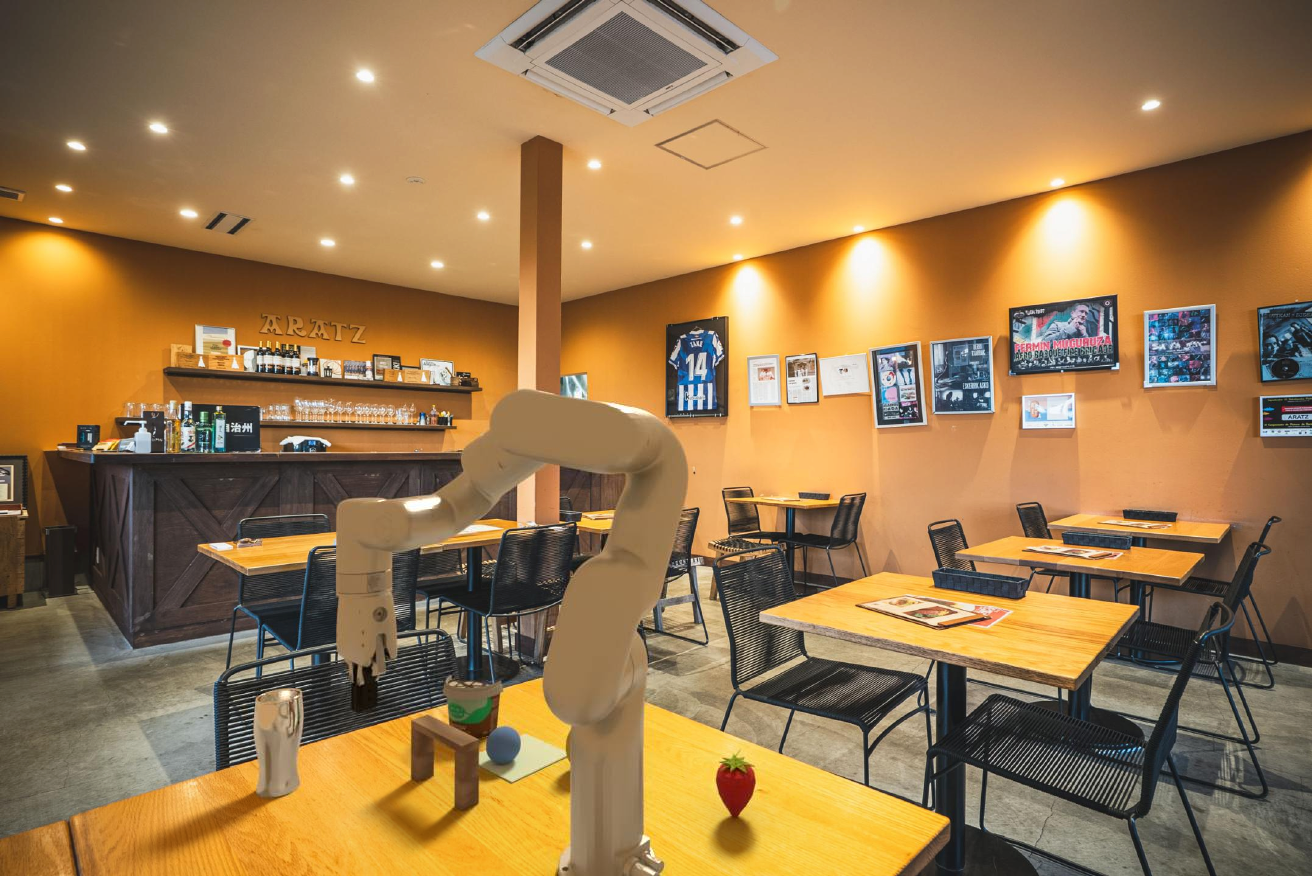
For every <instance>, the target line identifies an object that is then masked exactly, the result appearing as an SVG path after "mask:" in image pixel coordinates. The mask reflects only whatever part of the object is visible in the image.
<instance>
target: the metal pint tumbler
mask: <svg viewBox="0 0 1312 876" xmlns="http://www.w3.org/2000/svg"><path fill="white" fill-rule="evenodd" d="M303 702H304V701H303V691H302V689H300V688H292V687H290V688H289V687H288V688H279V689H274V690H270V691H266V692H264V693H262V694H260V695H258V696H256V698H255V705H254V713H253V714H254V715H253V740H254V746H255V751H256V756H257V760H258V770H259V771H258V772H259V773H258V780H257V785H256V788H255V789H256V790H255V795H256V796H257V797H258V798H260V799H264V798H267V799H268V798H270V799H276V798H280V797H281V798H282V797H284V796H287V795H289V794H291V793H293V792H295V791H296V790H297V789H298V788H299V787H300V783H301V782H300V776H299V772H298V755H299V750H300V747H301V740H302V735H303V727H304V703H303Z"/></svg>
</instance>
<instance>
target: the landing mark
mask: <svg viewBox="0 0 1312 876" xmlns="http://www.w3.org/2000/svg"><path fill="white" fill-rule="evenodd" d="M519 736H520V739H521V747H520V751H519V753H518V755H517V756H516V757H515V759H513V760H512V761H511V762H509V763H506V764H498V763H495V762H493V761H492V760H491V759H490V758H489V757H488V755H487V752H486V749H485V750H483V751H479V767H481V768H483V769H485V770H486V771H488V772H489V773H490V772H491V773H492V774H494V775H496V776H497V777H500V778H502V779H504V780H505V781H507V782H509V783H511V784H514V783H515V782H517V781H520V780H522V779H524V778H526V777H528V776H530V775H532V774H534V773H536V772H538V771H541V770H543V769H544V768H547V767H548V766H551V765H553V764H555V763H557V762H560V761H562V760H563V759H566V758H567V755H566V750H563V749H561V748H559V747H557V746H554V745H553V744H550V743H548V742H546V741H543V740H542V739H539V738H537V737H535V736H532V735H529V734H528V733H524V734H521V735H519Z"/></svg>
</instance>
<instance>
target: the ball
mask: <svg viewBox="0 0 1312 876" xmlns="http://www.w3.org/2000/svg"><path fill="white" fill-rule="evenodd" d="M520 736H521V735H520V734H519V733H518V731H517V730H516V729H514V728H513V727H512V726H508V725H507V726H506V725H504V726H503V725H502V726H499V727H497V729H495V730H494V731H493V732H492V733H491V734H490V735H489V736H488V737H487V739H486V742H485V750H486V752H487V755H488V757H489V758H490V759H491V760H492V761H493V762H495V763H498V764H506V763H509V762H511V761H512V760H513V759H515V757H516V756H517V755H518V753H519V751H520V747H521V739H520Z"/></svg>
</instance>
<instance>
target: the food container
mask: <svg viewBox="0 0 1312 876" xmlns="http://www.w3.org/2000/svg"><path fill="white" fill-rule="evenodd" d="M503 692H504V685H503V683H502V680H499V681H497V682H494V683H492V684H491V683H486V682H482V681H478V680H456V679H453V678H452V674H450V675H449V676H448V677H446V680H445V682H444V684H443V690H442V693H443V695H444V696H445V697H446V701H447V702H446V703H447V712H448V714H447V715H448V725H450V726H452V727H454V728H456V729H458V730H461V731H463V732H465V733H467V734H469V735H471V736H473V737H475V738H477V739H479V740H480V739H483V738H482V737H485V738H487V737H486V736H488V737H489V735H490V734H491V733H492V732H493V731H494V730H495V729H497V728H498V721H499V720H498V719H499V711H500V700H501V693H503Z"/></svg>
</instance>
